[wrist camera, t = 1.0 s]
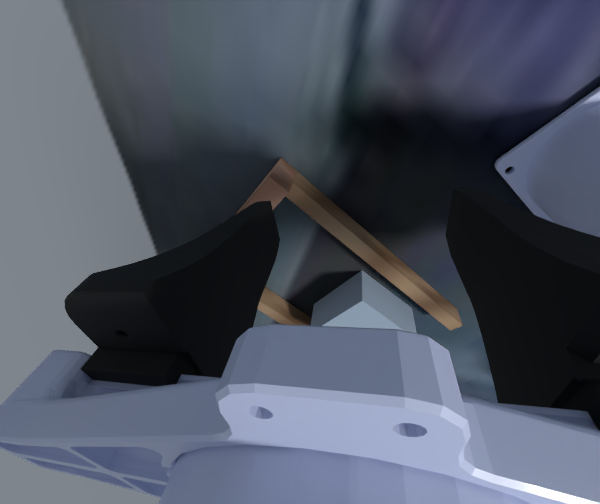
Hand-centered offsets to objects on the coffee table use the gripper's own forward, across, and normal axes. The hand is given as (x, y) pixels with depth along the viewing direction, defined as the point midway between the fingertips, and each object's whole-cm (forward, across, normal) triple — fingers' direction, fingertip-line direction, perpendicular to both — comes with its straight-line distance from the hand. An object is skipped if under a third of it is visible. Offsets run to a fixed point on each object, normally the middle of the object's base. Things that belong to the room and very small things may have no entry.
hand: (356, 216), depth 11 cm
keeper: (+10, 0, +16) cm, 19 cm away
